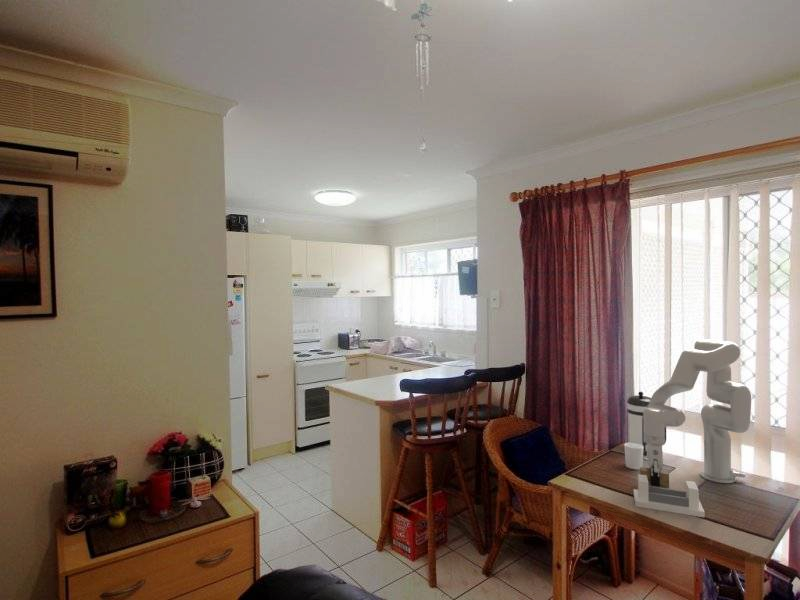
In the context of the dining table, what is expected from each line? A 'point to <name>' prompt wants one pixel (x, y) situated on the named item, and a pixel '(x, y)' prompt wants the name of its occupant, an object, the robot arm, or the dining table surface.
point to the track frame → (669, 498)
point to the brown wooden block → (662, 473)
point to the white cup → (633, 455)
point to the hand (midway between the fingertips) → (654, 482)
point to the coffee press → (637, 419)
